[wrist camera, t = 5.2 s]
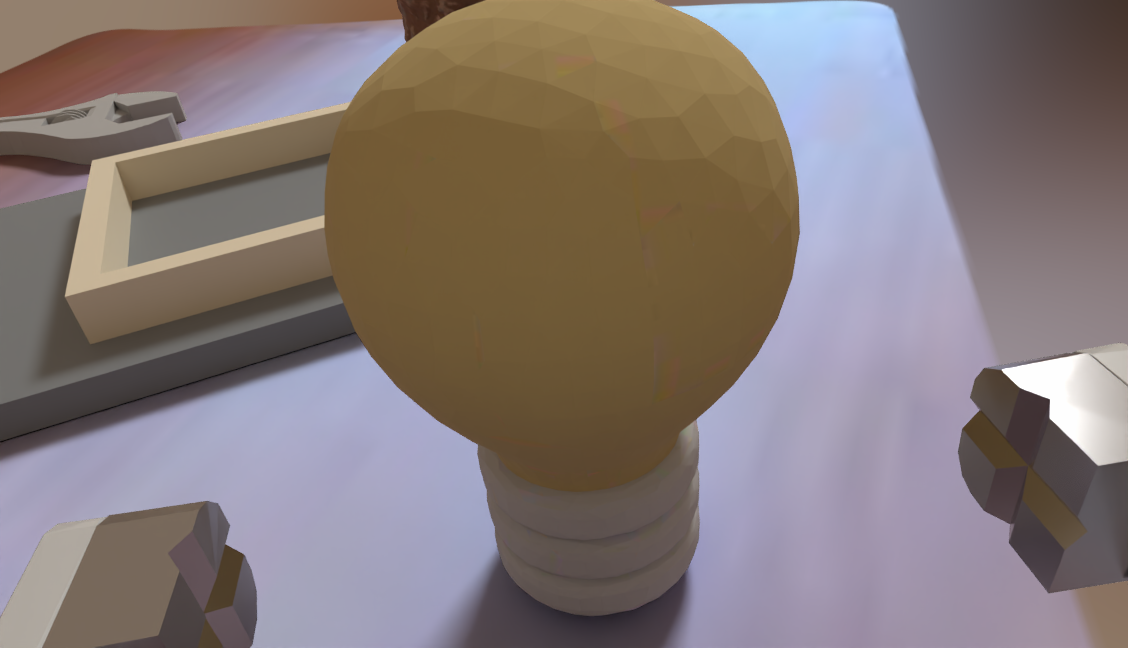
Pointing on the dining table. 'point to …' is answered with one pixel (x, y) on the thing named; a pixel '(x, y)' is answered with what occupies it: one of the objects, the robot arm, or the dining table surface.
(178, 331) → the board
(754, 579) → the dining table surface
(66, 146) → the adjustable wrench
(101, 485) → the dining table surface
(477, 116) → the light bulb
